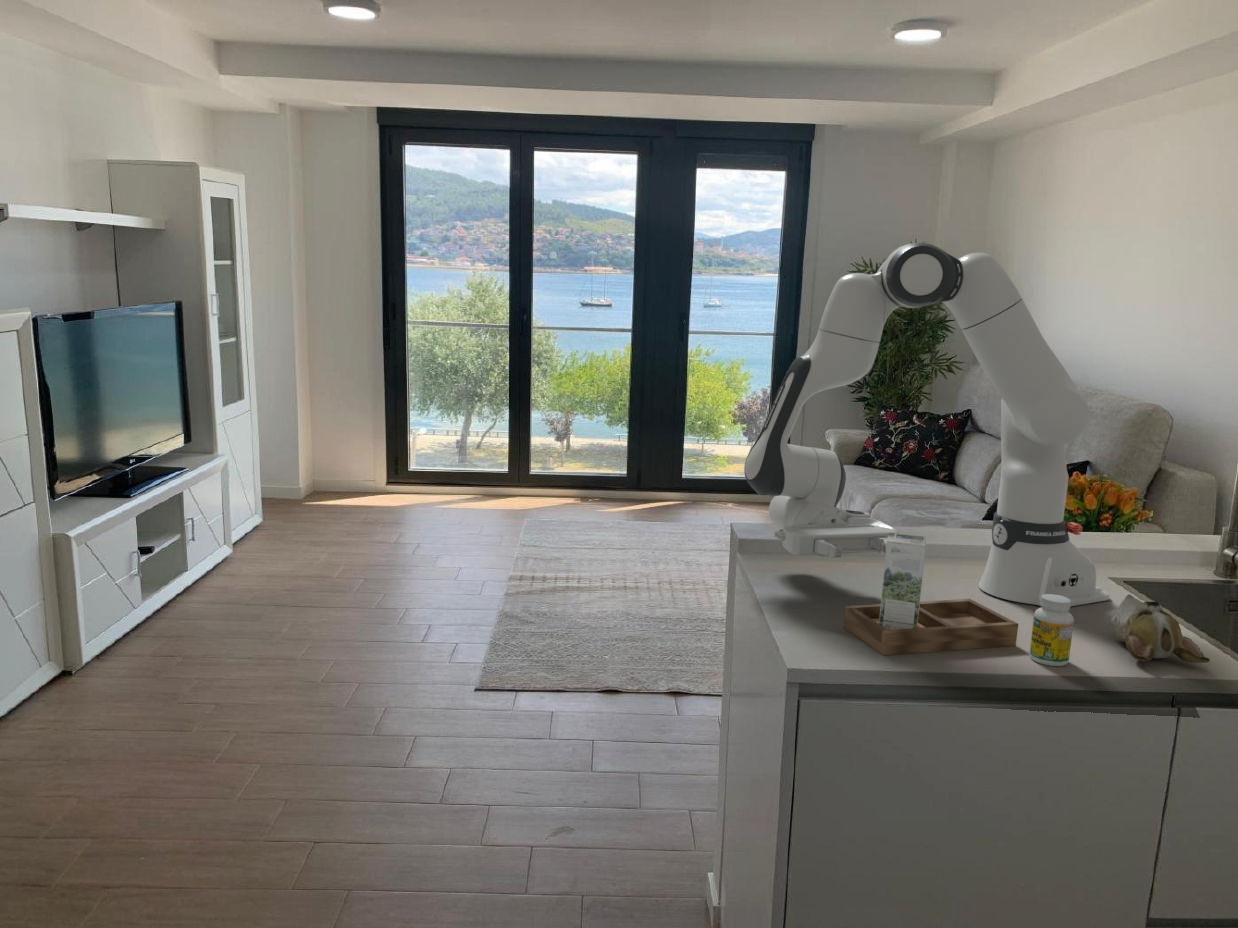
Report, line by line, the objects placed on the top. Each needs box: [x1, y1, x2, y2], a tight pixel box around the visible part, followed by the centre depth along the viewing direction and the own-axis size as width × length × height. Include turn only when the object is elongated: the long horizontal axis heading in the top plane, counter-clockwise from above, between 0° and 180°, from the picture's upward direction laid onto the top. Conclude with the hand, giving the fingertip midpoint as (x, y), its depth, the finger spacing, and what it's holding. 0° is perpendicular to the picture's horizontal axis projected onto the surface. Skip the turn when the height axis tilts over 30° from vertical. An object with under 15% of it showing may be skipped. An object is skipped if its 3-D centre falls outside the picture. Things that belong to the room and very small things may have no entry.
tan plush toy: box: [1110, 594, 1211, 664], centre depth 145 cm, size 11×9×15 cm
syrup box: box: [879, 533, 927, 630], centre depth 146 cm, size 6×6×14 cm
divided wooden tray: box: [843, 598, 1019, 656], centre depth 149 cm, size 23×12×4 cm, turn 106°
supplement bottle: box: [1029, 594, 1075, 667], centre depth 141 cm, size 5×5×10 cm
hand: (863, 551), depth 157 cm, fingers open, 8 cm apart
